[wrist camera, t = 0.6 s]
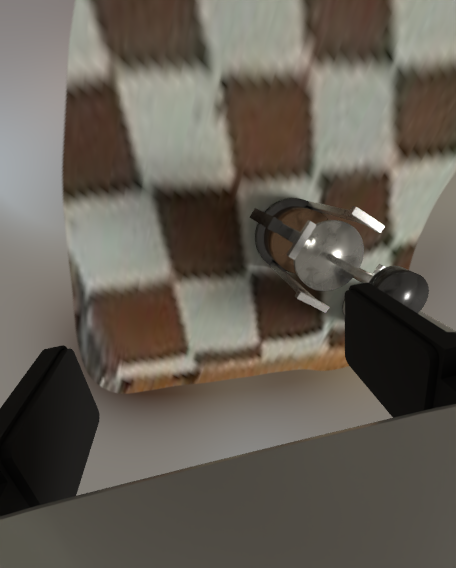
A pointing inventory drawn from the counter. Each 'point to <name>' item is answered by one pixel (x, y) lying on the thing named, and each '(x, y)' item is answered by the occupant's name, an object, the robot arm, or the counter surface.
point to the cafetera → (298, 236)
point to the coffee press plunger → (352, 265)
